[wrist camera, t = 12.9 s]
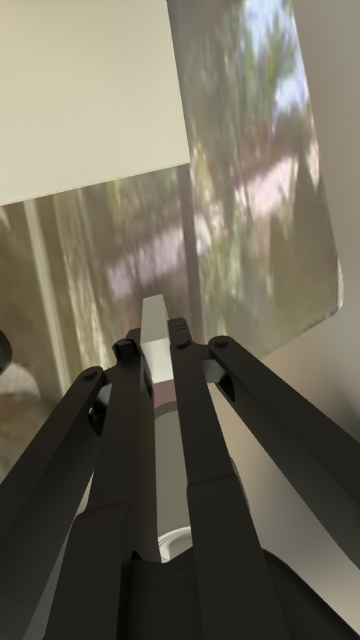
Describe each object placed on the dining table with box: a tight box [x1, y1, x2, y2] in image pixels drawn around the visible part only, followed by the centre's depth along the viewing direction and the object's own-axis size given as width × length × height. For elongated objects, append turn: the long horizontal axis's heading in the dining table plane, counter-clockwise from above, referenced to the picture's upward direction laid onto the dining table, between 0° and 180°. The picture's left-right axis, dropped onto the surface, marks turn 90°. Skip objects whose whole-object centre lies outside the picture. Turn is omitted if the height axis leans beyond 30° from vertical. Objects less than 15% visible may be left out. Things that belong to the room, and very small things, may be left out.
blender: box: [151, 378, 250, 563], centre depth 41 cm, size 16×12×32 cm
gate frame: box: [0, 0, 190, 206], centre depth 22 cm, size 30×24×18 cm
